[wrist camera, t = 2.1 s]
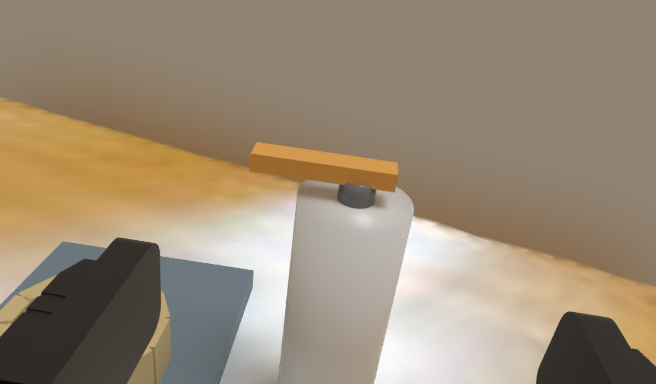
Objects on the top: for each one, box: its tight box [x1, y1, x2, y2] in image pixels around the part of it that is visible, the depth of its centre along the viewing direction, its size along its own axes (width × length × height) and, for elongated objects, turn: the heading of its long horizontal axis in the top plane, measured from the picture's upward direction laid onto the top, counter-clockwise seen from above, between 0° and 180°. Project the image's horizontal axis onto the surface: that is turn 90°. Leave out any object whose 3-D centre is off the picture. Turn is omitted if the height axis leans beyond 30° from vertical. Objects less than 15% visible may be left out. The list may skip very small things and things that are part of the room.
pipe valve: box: [250, 142, 414, 384], centre depth 25 cm, size 7×5×16 cm
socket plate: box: [0, 242, 254, 384], centre depth 28 cm, size 14×20×4 cm
